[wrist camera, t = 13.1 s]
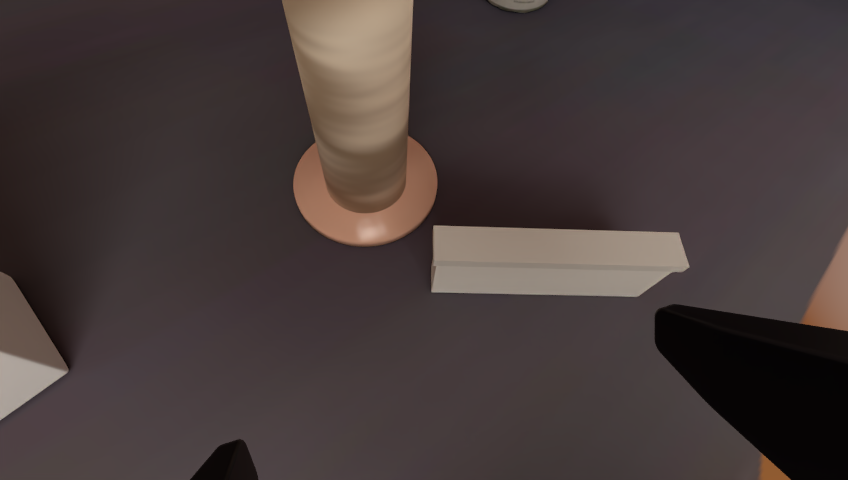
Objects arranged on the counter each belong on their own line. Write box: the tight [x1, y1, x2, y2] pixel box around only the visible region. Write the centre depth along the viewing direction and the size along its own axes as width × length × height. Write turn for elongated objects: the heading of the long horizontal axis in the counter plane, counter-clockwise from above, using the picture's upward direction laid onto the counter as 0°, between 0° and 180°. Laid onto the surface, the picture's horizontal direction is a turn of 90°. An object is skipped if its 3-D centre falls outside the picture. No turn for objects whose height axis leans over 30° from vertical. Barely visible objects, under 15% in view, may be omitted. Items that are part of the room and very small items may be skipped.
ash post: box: [282, 0, 413, 213], centre depth 22 cm, size 5×5×12 cm
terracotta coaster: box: [293, 136, 437, 247], centre depth 27 cm, size 9×9×1 cm
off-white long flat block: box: [431, 226, 689, 297], centre depth 23 cm, size 12×2×5 cm, turn 90°
